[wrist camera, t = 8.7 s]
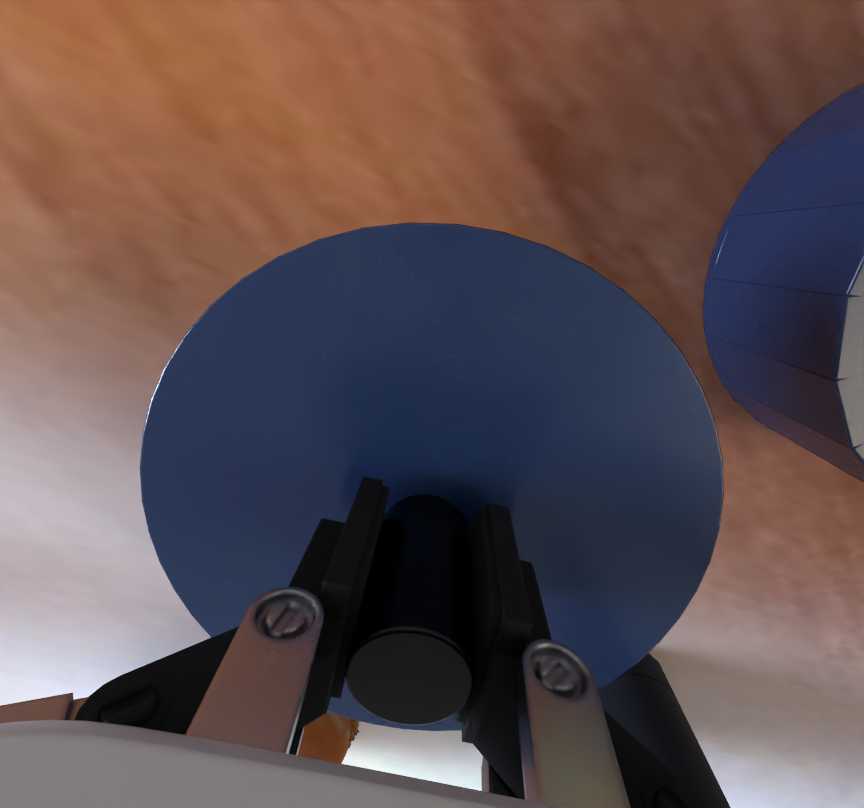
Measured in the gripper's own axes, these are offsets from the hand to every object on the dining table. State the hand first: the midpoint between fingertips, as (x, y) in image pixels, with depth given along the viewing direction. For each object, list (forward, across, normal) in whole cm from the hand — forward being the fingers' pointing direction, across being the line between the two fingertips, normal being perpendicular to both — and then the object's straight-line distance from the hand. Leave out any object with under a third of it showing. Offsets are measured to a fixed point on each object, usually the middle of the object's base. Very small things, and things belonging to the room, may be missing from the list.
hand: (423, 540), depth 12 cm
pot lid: (+1, 0, 0) cm, 1 cm away
